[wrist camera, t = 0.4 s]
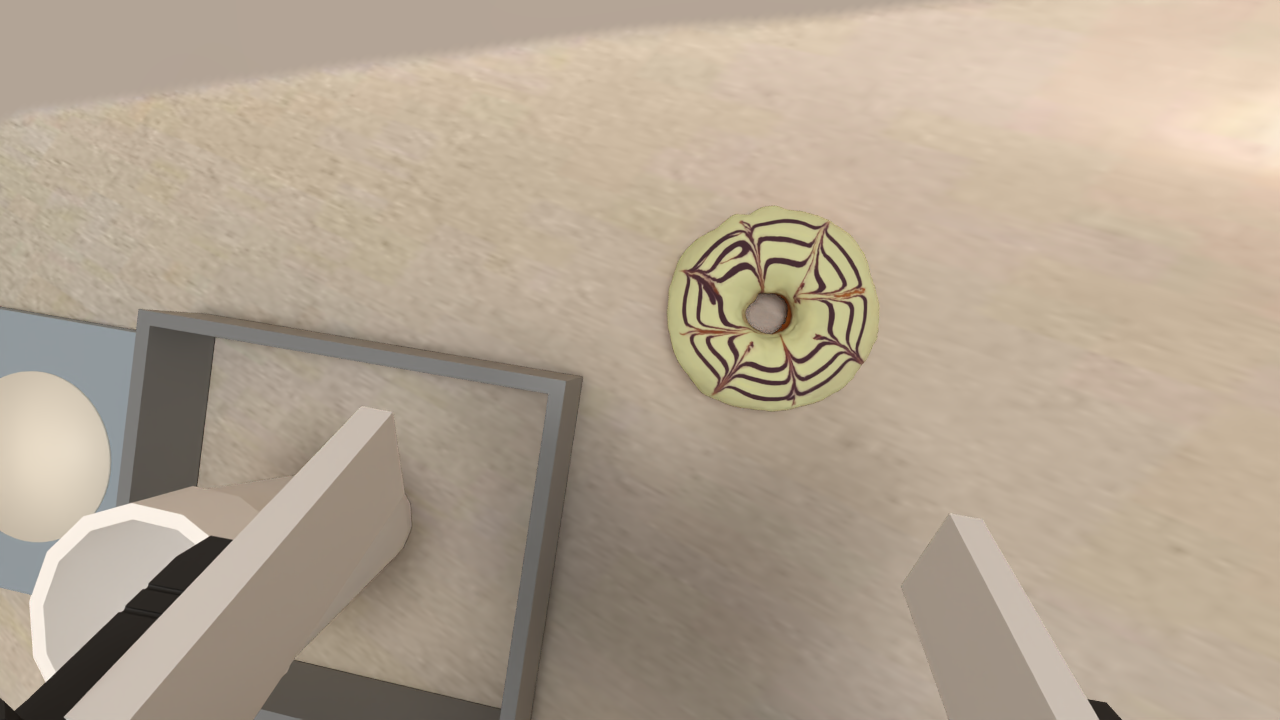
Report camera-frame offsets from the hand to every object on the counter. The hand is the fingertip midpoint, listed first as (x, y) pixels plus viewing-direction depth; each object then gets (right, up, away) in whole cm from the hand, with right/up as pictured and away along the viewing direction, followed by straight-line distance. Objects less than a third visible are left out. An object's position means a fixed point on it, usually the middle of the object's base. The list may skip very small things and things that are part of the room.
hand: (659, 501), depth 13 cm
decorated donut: (+7, +6, +17) cm, 19 cm away
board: (-39, -3, +22) cm, 45 cm away
